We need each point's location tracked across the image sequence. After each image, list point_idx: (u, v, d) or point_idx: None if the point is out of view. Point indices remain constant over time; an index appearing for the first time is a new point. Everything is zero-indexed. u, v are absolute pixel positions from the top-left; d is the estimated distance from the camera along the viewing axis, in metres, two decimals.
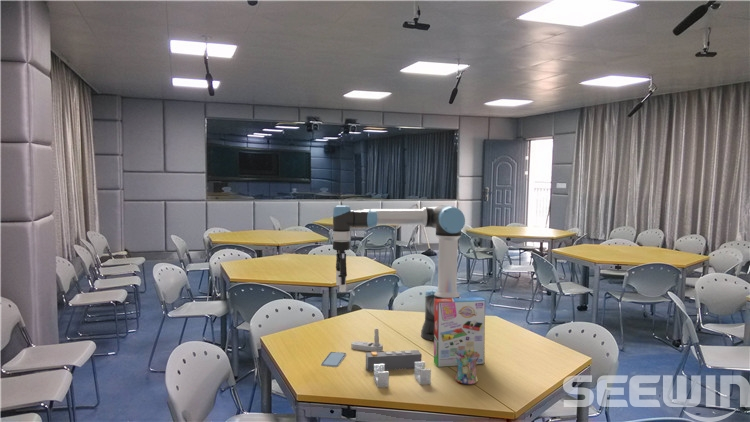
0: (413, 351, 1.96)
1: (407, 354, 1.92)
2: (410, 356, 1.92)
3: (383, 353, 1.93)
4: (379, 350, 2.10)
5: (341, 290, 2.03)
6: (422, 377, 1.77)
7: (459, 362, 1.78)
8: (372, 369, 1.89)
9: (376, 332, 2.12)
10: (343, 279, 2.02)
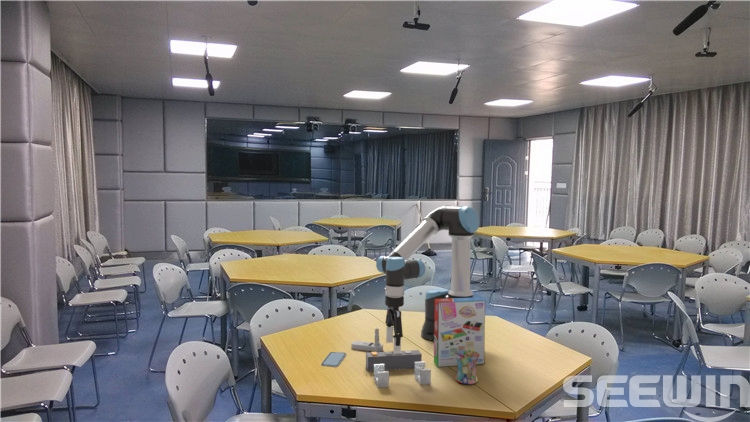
0: (413, 351, 1.96)
1: (407, 354, 1.92)
2: (410, 356, 1.92)
3: (383, 353, 1.93)
4: (379, 350, 2.11)
5: (395, 351, 1.85)
6: (422, 377, 1.77)
7: (459, 362, 1.78)
8: (372, 369, 1.89)
9: (376, 332, 2.12)
10: (398, 340, 1.84)
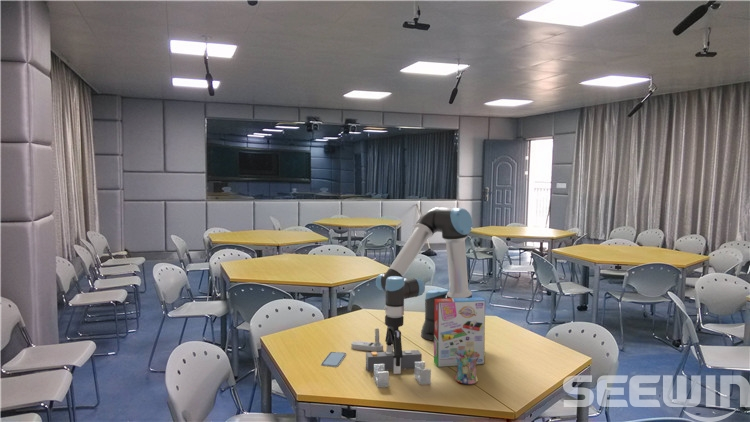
0: (413, 351, 1.96)
1: (407, 354, 1.92)
2: (410, 356, 1.92)
3: (383, 353, 1.93)
4: (380, 349, 2.11)
5: (395, 372, 1.86)
6: (422, 377, 1.77)
7: (459, 362, 1.78)
8: (372, 369, 1.89)
9: (377, 332, 2.12)
10: (398, 360, 1.85)
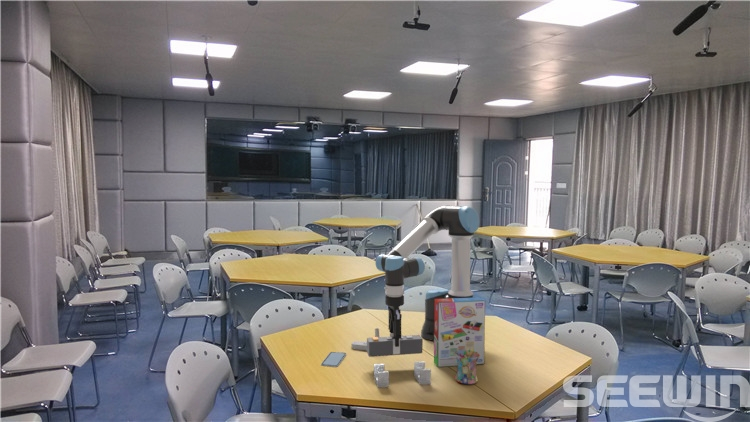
0: (414, 336, 1.96)
1: (408, 339, 1.92)
2: (411, 341, 1.92)
3: (384, 338, 1.93)
4: None
5: (395, 352, 1.90)
6: (422, 377, 1.77)
7: (459, 362, 1.78)
8: (373, 354, 1.89)
9: (377, 331, 2.12)
10: (397, 341, 1.89)
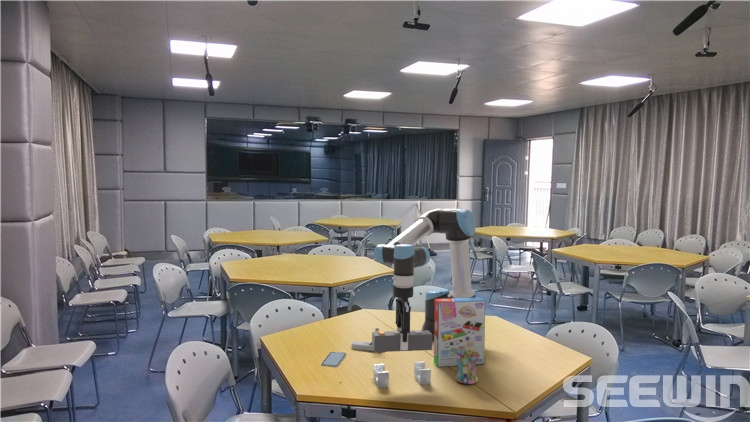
0: (423, 331, 1.81)
1: (417, 334, 1.78)
2: (420, 336, 1.77)
3: (391, 332, 1.78)
4: None
5: (402, 348, 1.75)
6: (422, 377, 1.77)
7: (459, 362, 1.78)
8: (379, 349, 1.75)
9: (377, 331, 2.13)
10: (405, 336, 1.74)
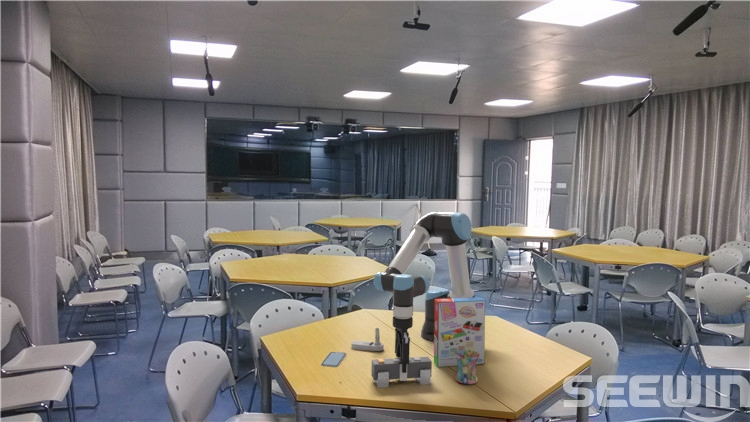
0: (422, 358, 1.82)
1: (416, 361, 1.78)
2: (419, 363, 1.78)
3: (390, 360, 1.79)
4: (380, 349, 2.12)
5: (402, 379, 1.76)
6: (422, 377, 1.77)
7: (459, 362, 1.78)
8: None
9: (377, 331, 2.13)
10: (404, 366, 1.75)
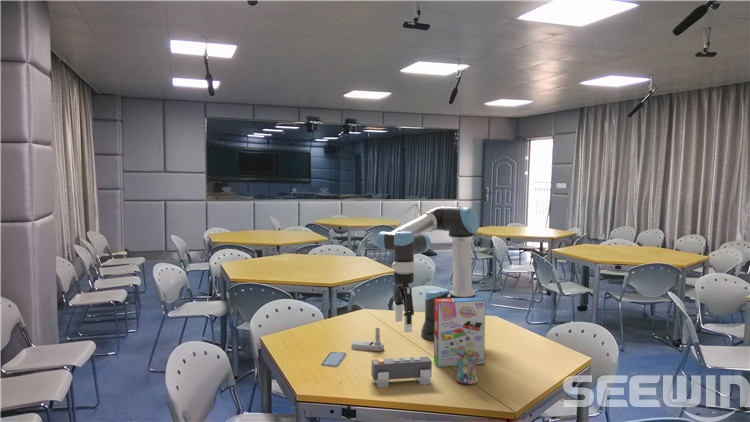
0: (422, 358, 1.82)
1: (416, 361, 1.78)
2: (419, 363, 1.78)
3: (390, 360, 1.79)
4: (381, 349, 2.12)
5: (406, 330, 1.76)
6: (422, 377, 1.77)
7: (459, 362, 1.78)
8: None
9: (377, 331, 2.13)
10: (409, 318, 1.75)
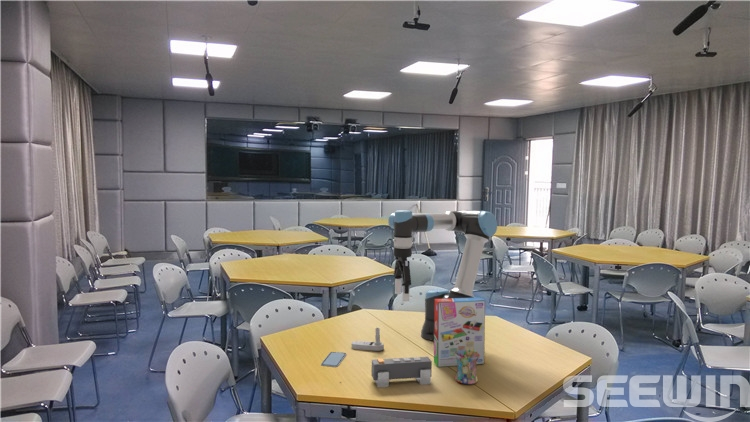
0: (422, 358, 1.82)
1: (416, 361, 1.78)
2: (419, 363, 1.78)
3: (390, 360, 1.79)
4: (381, 349, 2.12)
5: (404, 299, 1.94)
6: (422, 377, 1.77)
7: (459, 362, 1.78)
8: None
9: (377, 331, 2.13)
10: (407, 288, 1.92)
